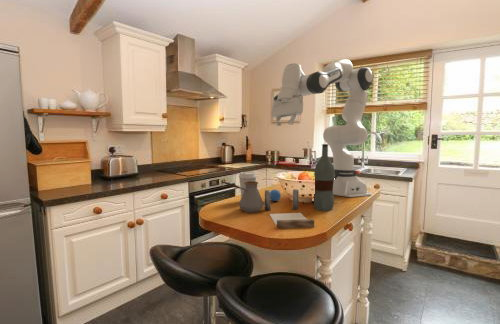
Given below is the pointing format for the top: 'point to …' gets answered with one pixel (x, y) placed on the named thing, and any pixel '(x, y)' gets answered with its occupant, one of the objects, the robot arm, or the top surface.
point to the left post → (267, 200)
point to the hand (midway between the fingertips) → (284, 125)
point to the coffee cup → (246, 179)
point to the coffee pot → (249, 197)
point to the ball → (275, 195)
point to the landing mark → (286, 217)
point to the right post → (295, 199)
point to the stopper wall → (295, 223)
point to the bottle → (324, 182)
